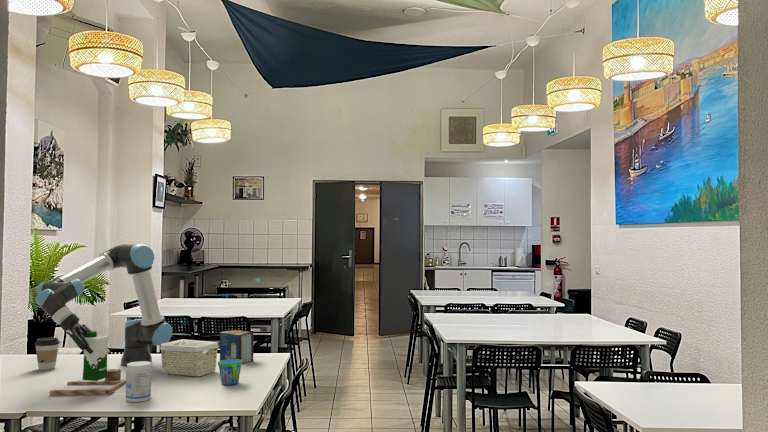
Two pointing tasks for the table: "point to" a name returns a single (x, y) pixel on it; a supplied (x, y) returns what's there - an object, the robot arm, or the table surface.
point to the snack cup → (230, 371)
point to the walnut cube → (113, 375)
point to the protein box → (236, 345)
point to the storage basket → (189, 357)
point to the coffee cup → (47, 352)
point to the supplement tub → (138, 381)
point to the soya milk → (93, 367)
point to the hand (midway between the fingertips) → (103, 355)
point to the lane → (89, 391)
